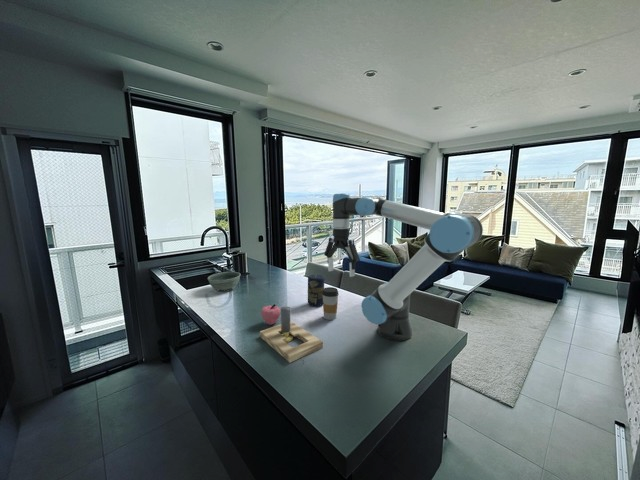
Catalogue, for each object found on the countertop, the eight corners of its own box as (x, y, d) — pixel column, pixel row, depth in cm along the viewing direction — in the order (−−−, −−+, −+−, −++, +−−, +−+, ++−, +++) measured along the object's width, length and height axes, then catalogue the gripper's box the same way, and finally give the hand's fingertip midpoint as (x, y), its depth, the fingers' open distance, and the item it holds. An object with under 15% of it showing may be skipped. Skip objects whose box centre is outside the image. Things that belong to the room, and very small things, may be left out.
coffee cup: (337, 321, 130) (337, 293, 128) (320, 320, 132) (320, 291, 130) (339, 314, 138) (339, 287, 136) (323, 313, 140) (323, 286, 138)
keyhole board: (322, 347, 107) (322, 341, 107) (289, 362, 97) (289, 356, 97) (290, 326, 126) (290, 320, 125) (260, 336, 116) (259, 331, 115)
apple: (274, 317, 134) (273, 299, 133) (284, 323, 128) (284, 304, 127) (258, 323, 128) (257, 304, 126) (267, 330, 122) (267, 309, 120)
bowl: (235, 295, 166) (234, 280, 164) (202, 295, 166) (201, 279, 164) (245, 284, 186) (244, 271, 185) (215, 284, 186) (215, 271, 185)
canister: (304, 306, 149) (304, 275, 147) (311, 300, 158) (311, 271, 155) (320, 308, 146) (320, 277, 143) (326, 302, 155) (326, 273, 152)
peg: (295, 339, 114) (295, 308, 112) (283, 344, 110) (283, 312, 108) (288, 333, 118) (287, 304, 116) (276, 338, 115) (275, 307, 112)
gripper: (368, 229, 112) (367, 277, 115) (328, 226, 130) (328, 267, 133) (356, 230, 107) (356, 280, 110) (316, 227, 126) (317, 270, 128)
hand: (341, 273), depth 122 cm, fingers open, 13 cm apart
